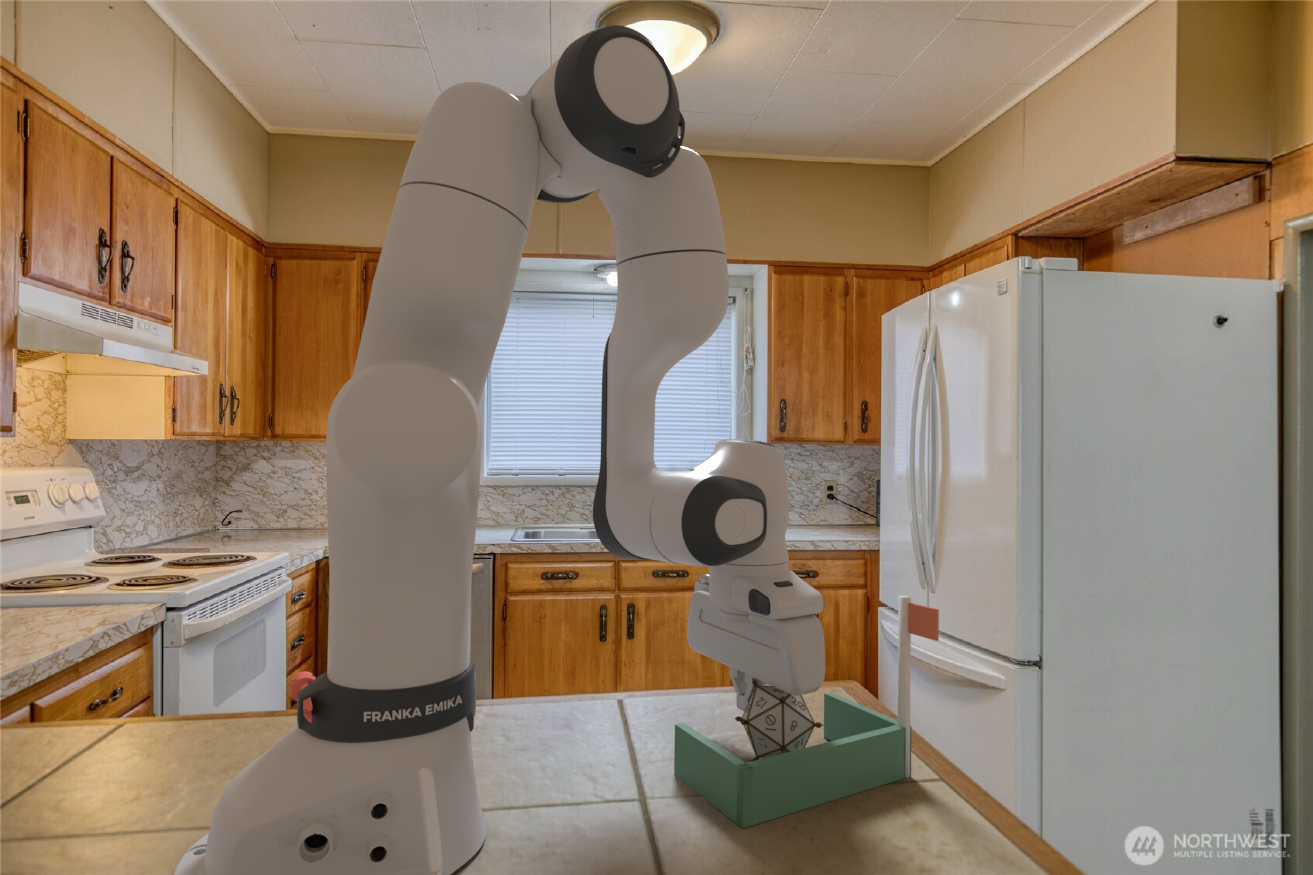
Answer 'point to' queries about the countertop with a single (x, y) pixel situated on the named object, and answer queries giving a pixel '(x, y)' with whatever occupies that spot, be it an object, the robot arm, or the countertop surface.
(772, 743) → the game die
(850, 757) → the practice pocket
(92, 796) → the countertop surface
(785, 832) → the countertop surface
